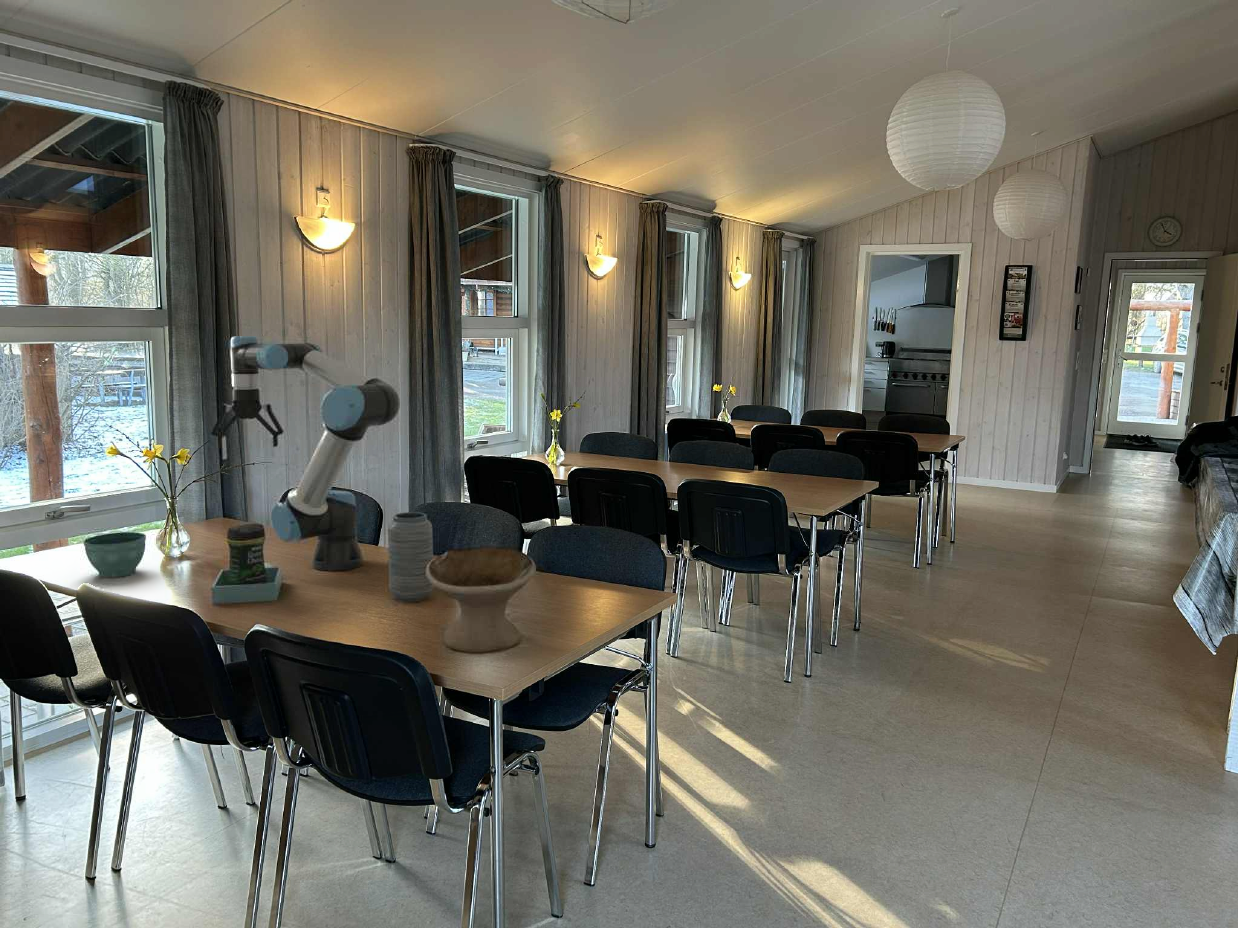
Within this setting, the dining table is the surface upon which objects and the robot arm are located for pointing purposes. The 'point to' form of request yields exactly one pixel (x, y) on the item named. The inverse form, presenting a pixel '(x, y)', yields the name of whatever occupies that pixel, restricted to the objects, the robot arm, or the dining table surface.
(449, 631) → the bowl
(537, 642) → the dining table surface
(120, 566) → the green bowl
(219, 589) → the bin
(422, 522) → the vase
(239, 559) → the coffee jar
